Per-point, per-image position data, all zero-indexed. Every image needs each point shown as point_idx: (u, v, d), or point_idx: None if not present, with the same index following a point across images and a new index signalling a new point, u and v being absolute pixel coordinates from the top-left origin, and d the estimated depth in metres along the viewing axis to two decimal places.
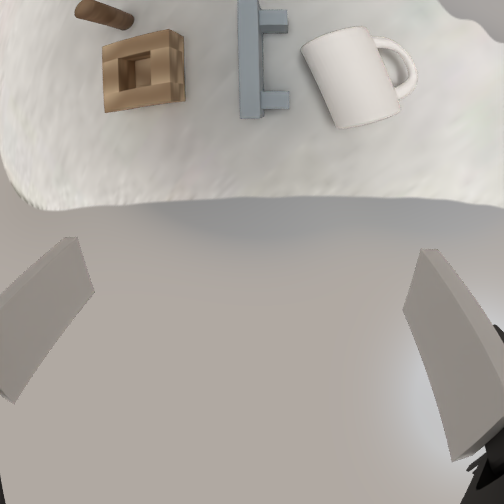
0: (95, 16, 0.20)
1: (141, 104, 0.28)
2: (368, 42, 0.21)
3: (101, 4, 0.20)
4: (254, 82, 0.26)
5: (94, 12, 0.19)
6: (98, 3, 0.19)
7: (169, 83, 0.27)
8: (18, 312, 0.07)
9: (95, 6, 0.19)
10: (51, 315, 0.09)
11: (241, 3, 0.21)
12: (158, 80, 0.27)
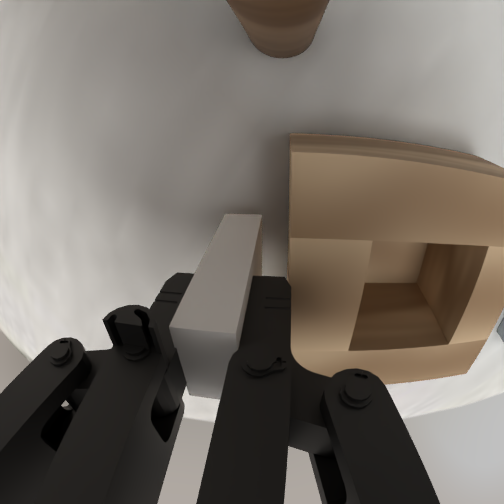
0: None
1: (403, 380, 0.10)
2: None
3: None
4: None
5: None
6: None
7: (484, 341, 0.09)
8: None
9: None
10: None
11: None
12: (469, 334, 0.09)
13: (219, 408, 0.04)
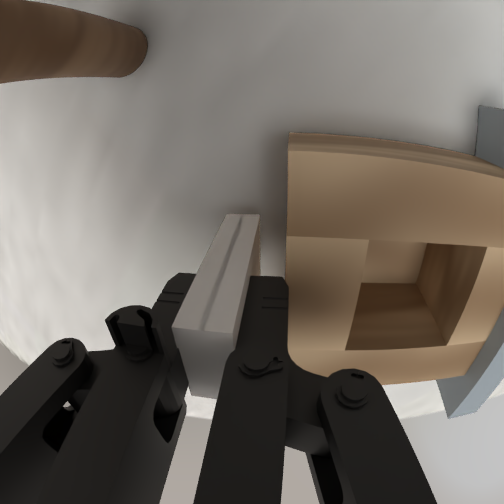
0: None
1: (400, 381, 0.10)
2: None
3: (2, 6, 0.03)
4: None
5: None
6: None
7: (483, 343, 0.09)
8: None
9: None
10: None
11: None
12: (468, 336, 0.09)
13: (216, 408, 0.04)
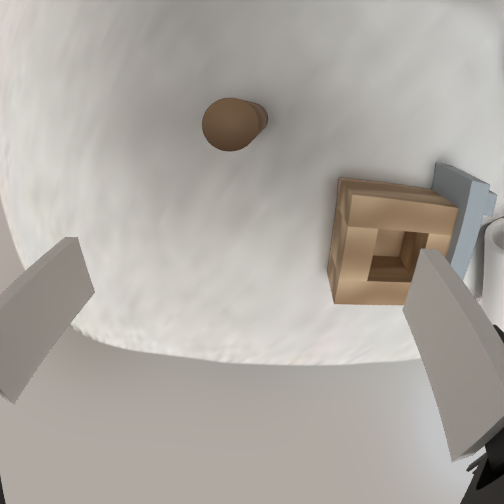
0: None
1: (393, 303, 0.22)
2: None
3: (258, 113, 0.14)
4: None
5: None
6: (257, 114, 0.13)
7: None
8: (18, 312, 0.07)
9: (257, 126, 0.13)
10: (51, 315, 0.09)
11: (474, 191, 0.16)
12: None
13: None
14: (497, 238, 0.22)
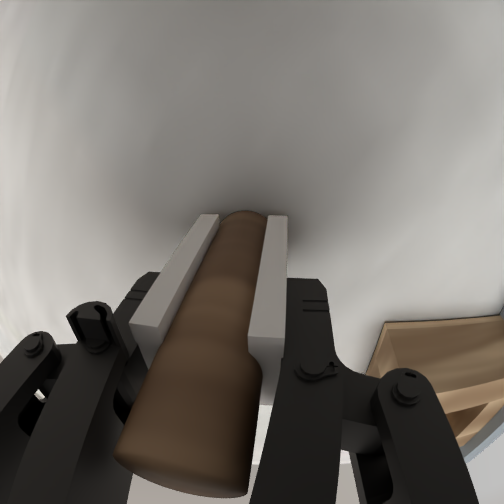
0: None
1: None
2: None
3: (252, 396, 0.05)
4: (489, 443, 0.11)
5: None
6: (249, 422, 0.05)
7: (477, 432, 0.12)
8: None
9: None
10: None
11: None
12: (468, 432, 0.12)
13: (272, 412, 0.04)
14: None
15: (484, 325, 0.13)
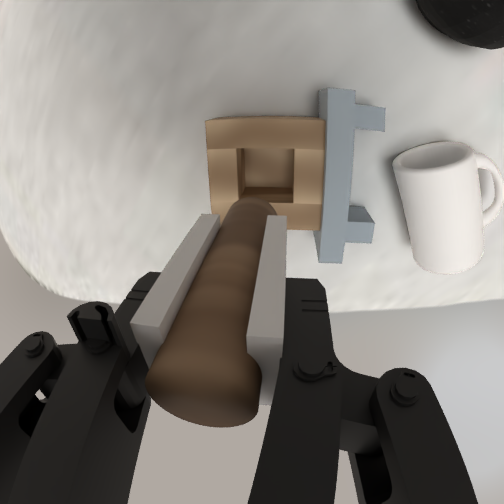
0: None
1: None
2: (476, 178, 0.18)
3: None
4: (342, 221, 0.22)
5: None
6: None
7: (320, 206, 0.23)
8: None
9: None
10: None
11: (333, 98, 0.18)
12: (305, 198, 0.23)
13: (271, 412, 0.04)
14: (417, 167, 0.24)
15: None
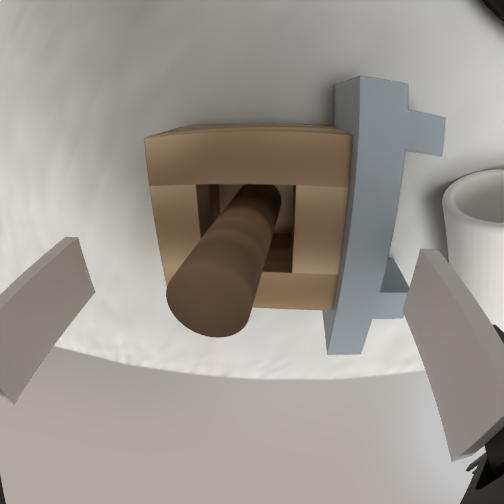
0: None
1: (263, 305, 0.15)
2: None
3: (256, 260, 0.10)
4: (368, 303, 0.13)
5: None
6: (253, 270, 0.09)
7: (336, 276, 0.14)
8: (18, 312, 0.07)
9: (252, 298, 0.09)
10: (51, 315, 0.09)
11: (370, 96, 0.09)
12: (312, 266, 0.14)
13: None
14: (470, 204, 0.15)
15: (298, 125, 0.15)
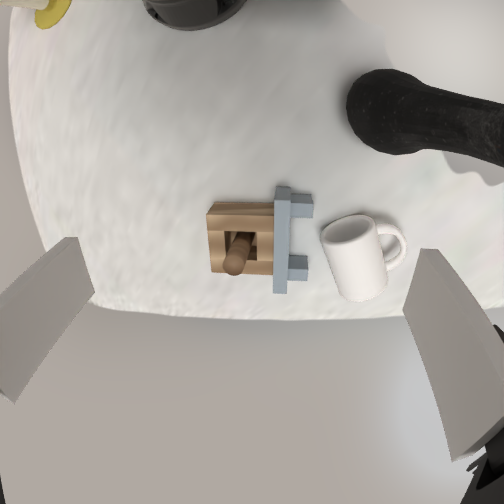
0: None
1: (247, 272, 0.42)
2: (372, 245, 0.36)
3: (245, 255, 0.36)
4: (284, 271, 0.40)
5: None
6: (244, 257, 0.36)
7: None
8: (18, 312, 0.07)
9: (244, 264, 0.36)
10: (51, 315, 0.09)
11: (277, 206, 0.36)
12: (263, 258, 0.41)
13: None
14: (342, 231, 0.42)
15: (260, 204, 0.41)
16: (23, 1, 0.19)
